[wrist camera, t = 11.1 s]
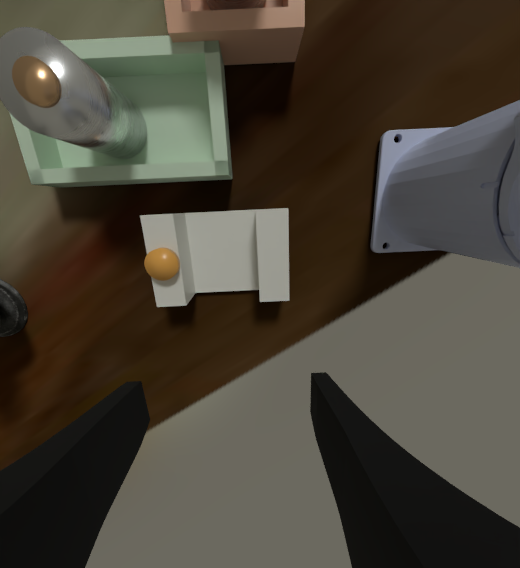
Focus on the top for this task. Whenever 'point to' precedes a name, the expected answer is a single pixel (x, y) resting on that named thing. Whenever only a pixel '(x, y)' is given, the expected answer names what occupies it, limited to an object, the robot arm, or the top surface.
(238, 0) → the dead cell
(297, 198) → the top surface
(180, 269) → the cradle
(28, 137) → the trough
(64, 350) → the top surface
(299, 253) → the top surface
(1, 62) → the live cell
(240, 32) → the cup
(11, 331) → the grey chess piece
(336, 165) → the top surface
